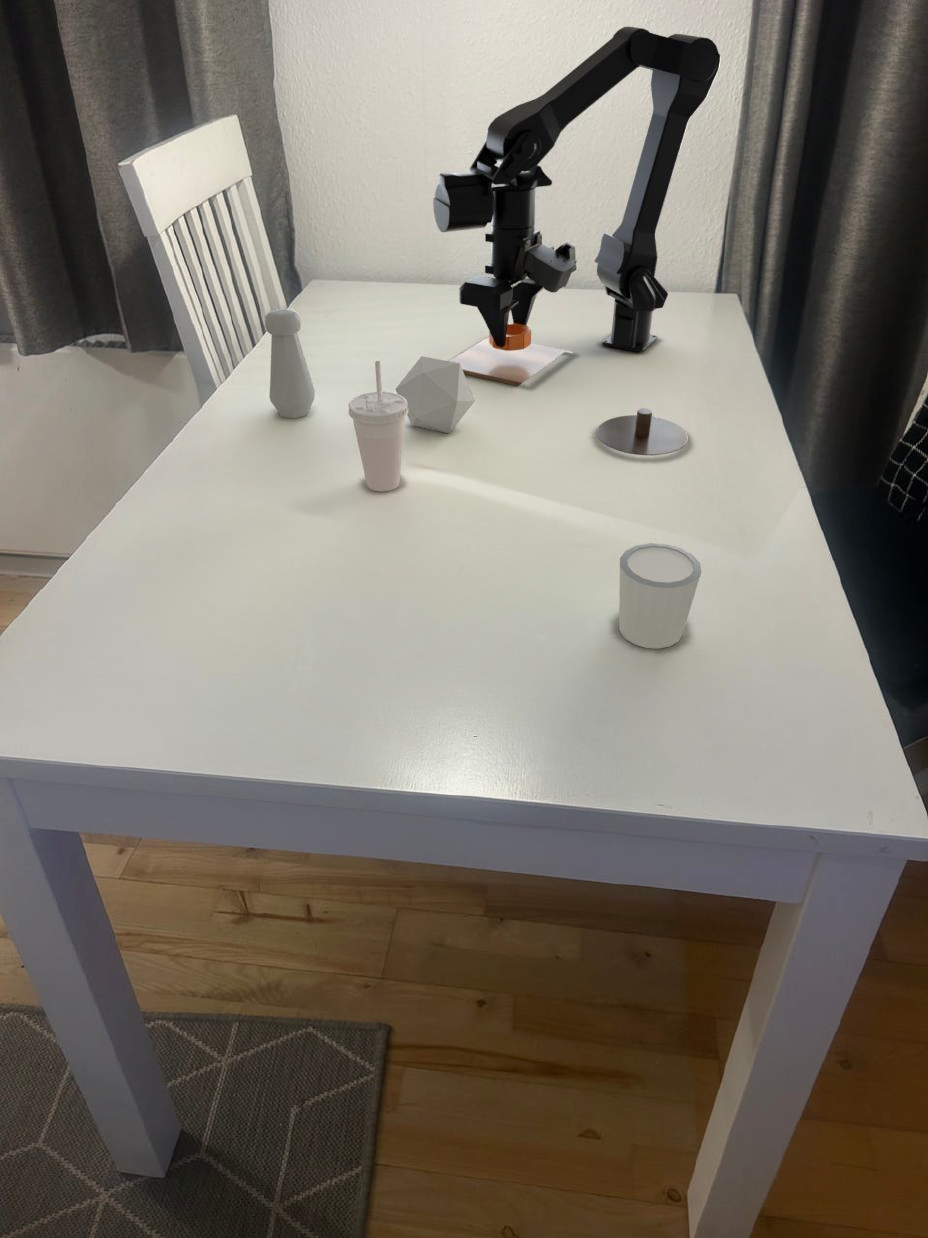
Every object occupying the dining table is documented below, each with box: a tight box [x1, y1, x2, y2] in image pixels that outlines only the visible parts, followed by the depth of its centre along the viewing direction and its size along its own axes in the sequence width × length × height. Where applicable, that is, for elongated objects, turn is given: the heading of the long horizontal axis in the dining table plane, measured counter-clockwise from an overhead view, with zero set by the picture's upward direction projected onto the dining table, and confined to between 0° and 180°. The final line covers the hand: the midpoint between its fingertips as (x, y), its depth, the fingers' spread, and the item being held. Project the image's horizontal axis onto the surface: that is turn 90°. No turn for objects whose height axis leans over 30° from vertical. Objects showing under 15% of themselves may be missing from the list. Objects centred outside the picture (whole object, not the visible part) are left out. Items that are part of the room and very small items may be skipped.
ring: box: [488, 322, 532, 351], centre depth 130 cm, size 6×6×2 cm
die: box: [395, 356, 476, 434], centre depth 113 cm, size 8×9×10 cm
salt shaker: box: [264, 308, 316, 420], centre depth 115 cm, size 6×6×13 cm
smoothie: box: [348, 360, 408, 493], centre depth 99 cm, size 6×6×14 cm
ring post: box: [596, 407, 689, 456], centre depth 110 cm, size 11×11×4 cm
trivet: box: [449, 336, 575, 387], centre depth 132 cm, size 14×14×1 cm
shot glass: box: [618, 542, 702, 650], centre depth 79 cm, size 7×7×7 cm
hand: (510, 339), depth 130 cm, fingers closed on ring, 5 cm apart
